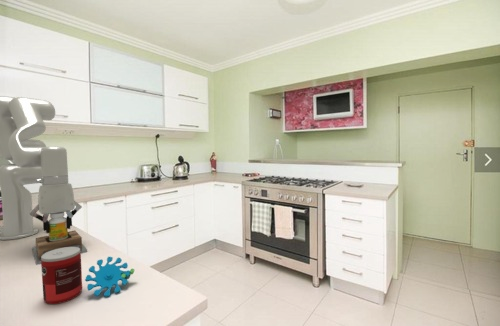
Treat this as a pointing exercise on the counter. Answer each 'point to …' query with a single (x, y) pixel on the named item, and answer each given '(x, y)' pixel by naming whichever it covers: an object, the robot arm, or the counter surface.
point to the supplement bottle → (57, 227)
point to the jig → (57, 242)
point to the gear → (108, 276)
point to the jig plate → (38, 260)
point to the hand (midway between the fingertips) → (58, 229)
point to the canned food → (61, 274)
